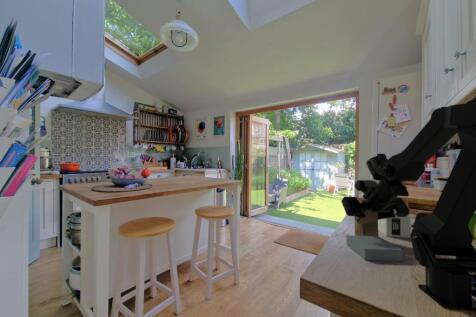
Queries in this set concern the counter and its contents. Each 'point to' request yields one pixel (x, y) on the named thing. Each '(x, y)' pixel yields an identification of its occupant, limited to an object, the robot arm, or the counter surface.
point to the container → (395, 226)
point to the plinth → (374, 248)
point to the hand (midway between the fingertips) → (363, 219)
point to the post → (367, 223)
